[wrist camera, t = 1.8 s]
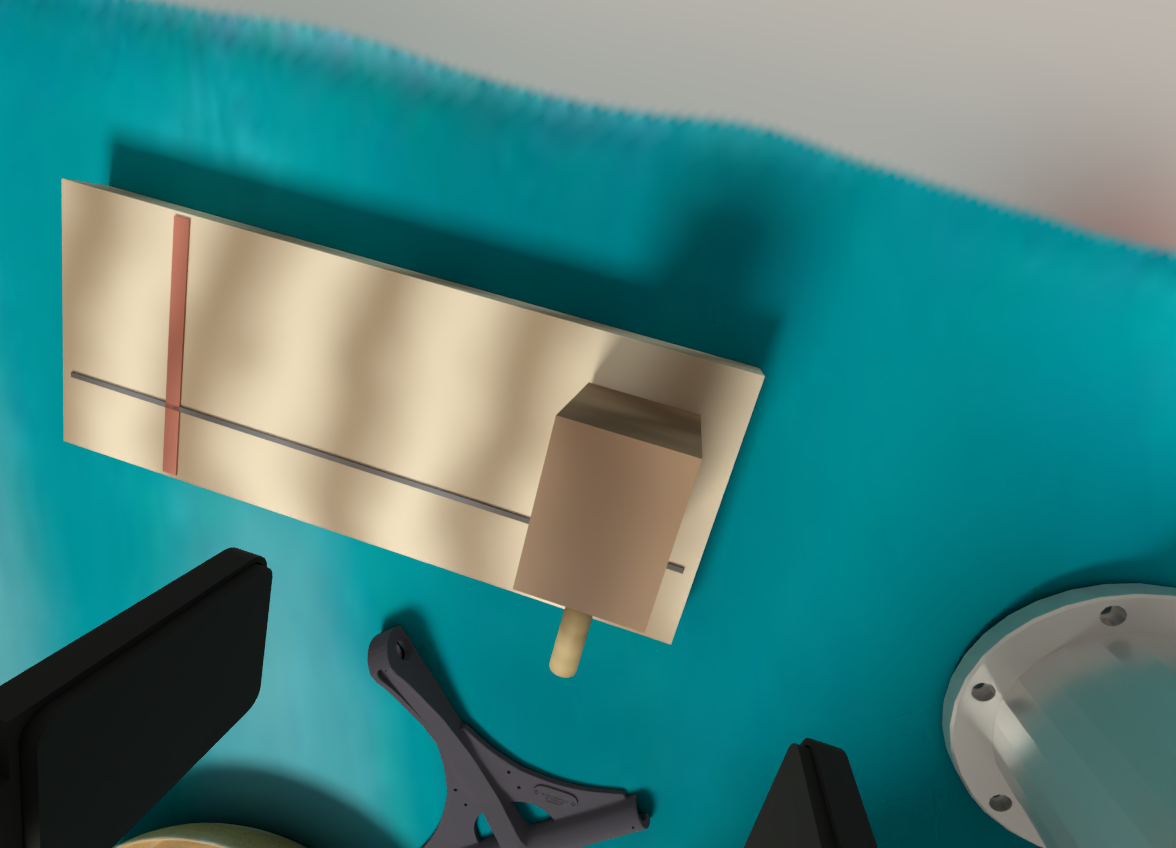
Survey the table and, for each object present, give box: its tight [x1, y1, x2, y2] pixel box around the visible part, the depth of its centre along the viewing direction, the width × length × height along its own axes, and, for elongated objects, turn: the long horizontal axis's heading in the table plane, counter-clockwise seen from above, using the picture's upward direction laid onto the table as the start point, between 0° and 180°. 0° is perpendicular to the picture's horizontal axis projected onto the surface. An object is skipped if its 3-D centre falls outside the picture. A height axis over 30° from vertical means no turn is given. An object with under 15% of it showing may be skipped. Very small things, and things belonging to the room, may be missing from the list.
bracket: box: [368, 625, 650, 848], centre depth 30 cm, size 14×15×3 cm
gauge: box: [513, 382, 702, 677], centre depth 21 cm, size 4×9×6 cm, turn 166°
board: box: [62, 178, 765, 644], centre depth 25 cm, size 30×12×2 cm, turn 76°
